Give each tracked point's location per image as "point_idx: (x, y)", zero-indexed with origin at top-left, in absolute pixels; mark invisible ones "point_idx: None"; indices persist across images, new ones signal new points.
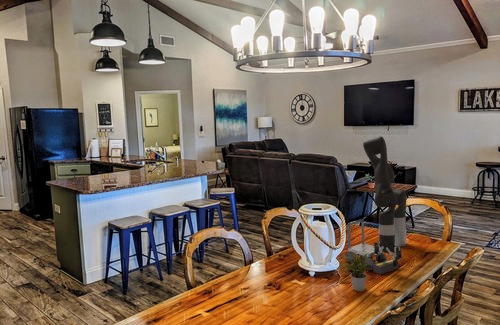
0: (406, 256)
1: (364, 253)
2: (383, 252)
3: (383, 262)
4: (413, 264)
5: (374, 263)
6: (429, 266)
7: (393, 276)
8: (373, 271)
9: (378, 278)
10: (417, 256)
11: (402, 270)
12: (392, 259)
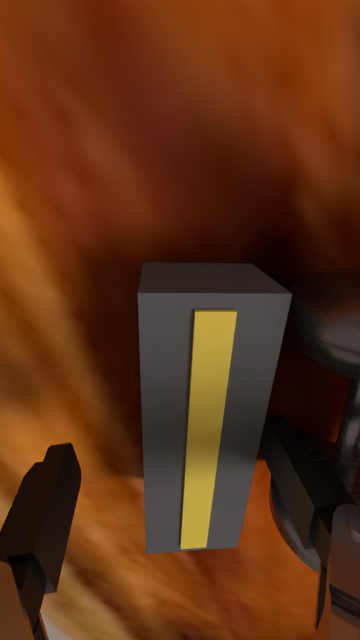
0: (252, 601)
1: None
2: (314, 630)
3: (227, 442)
4: (138, 570)
5: (302, 345)
6: (59, 603)
7: (15, 330)
8: (248, 263)
9: (44, 122)
10: (210, 628)
11: (96, 474)
12: (217, 544)
